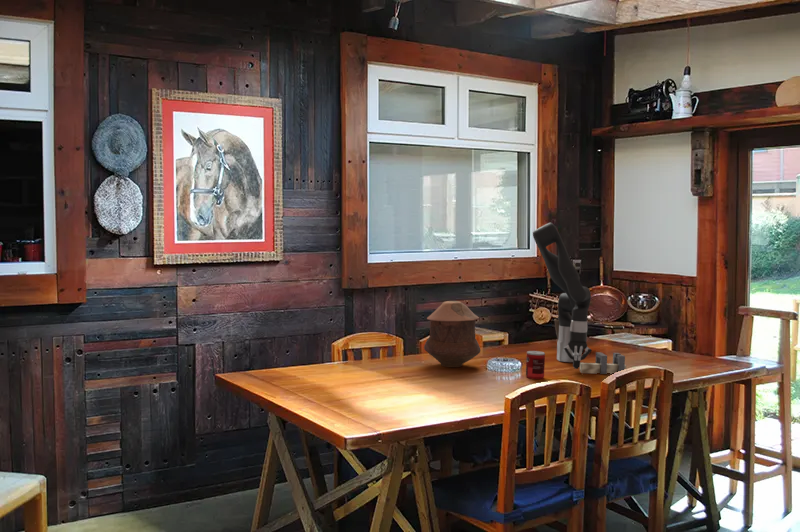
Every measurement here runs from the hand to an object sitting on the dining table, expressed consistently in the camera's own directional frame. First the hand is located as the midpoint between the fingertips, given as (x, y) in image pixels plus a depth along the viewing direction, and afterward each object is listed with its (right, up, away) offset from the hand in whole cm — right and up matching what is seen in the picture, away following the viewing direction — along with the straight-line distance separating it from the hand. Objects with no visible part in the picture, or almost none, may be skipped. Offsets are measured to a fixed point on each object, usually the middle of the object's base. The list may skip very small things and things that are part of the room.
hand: (576, 368), depth 351 cm
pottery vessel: (-56, 0, +6) cm, 56 cm away
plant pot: (+11, +1, +67) cm, 68 cm away
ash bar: (+12, -2, 0) cm, 12 cm away
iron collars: (+15, -2, 0) cm, 15 cm away
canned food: (-21, -2, -16) cm, 27 cm away
